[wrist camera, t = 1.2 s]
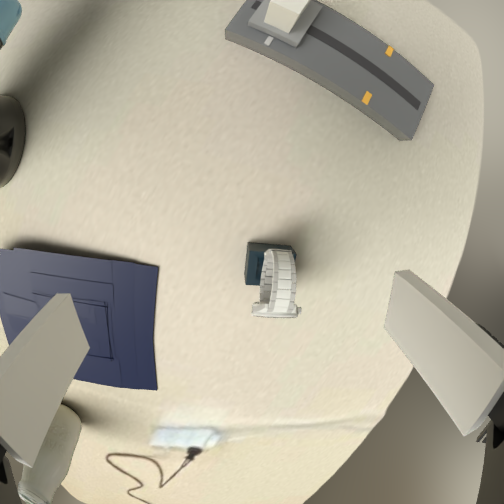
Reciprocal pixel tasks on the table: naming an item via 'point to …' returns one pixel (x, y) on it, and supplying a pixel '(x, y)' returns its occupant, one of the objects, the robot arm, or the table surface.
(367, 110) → the console
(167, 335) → the table surface
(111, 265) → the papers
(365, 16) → the table surface
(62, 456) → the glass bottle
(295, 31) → the fader tab
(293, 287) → the watch
